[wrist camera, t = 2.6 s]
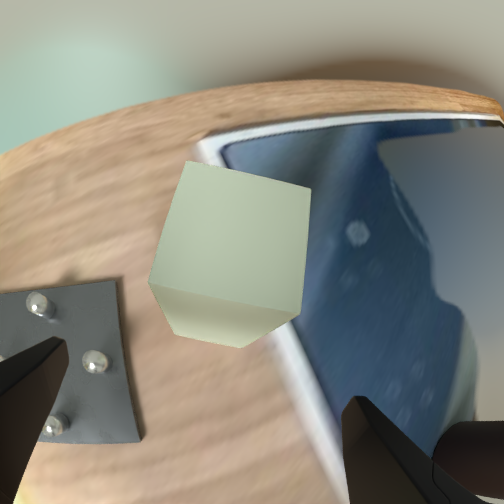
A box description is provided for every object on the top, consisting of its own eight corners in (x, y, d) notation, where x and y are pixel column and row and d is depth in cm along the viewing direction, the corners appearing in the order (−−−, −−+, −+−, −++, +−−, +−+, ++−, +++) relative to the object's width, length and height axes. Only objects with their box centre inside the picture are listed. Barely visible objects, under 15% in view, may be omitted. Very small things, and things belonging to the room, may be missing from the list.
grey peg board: (141, 440, 16) (134, 449, 14) (10, 436, 13) (-8, 440, 11) (117, 282, 20) (107, 270, 17) (-4, 297, 17) (-21, 287, 15)
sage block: (241, 348, 20) (300, 313, 9) (175, 334, 19) (147, 282, 8) (252, 285, 21) (311, 189, 11) (189, 272, 21) (186, 160, 10)
